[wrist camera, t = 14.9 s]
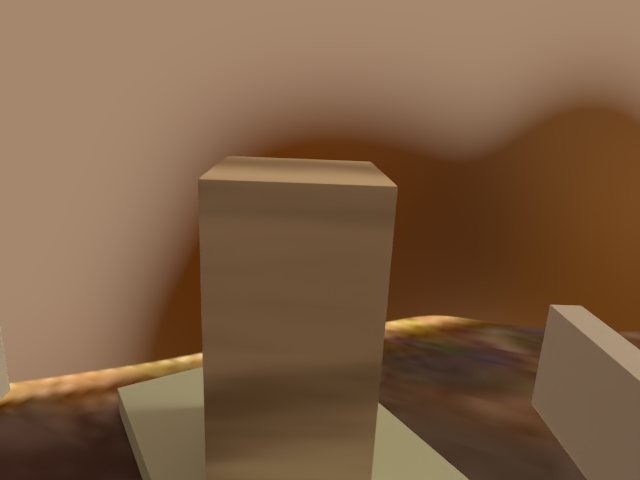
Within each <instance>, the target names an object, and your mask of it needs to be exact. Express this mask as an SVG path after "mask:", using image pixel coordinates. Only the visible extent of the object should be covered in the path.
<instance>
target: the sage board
mask: <svg viewBox="0 0 640 480" xmlns="http://www.w3.org/2000/svg"><path fill="white" fill-rule="evenodd" d="M118 400H119V412H120V416H121V419H122V422H123V425H124V428H125V431H126V434H127V436H128V439H129V442H130V445H131V448H132V451H133V454H134V457H135V460H136V463H137V465H138V468H139V471H140V474H141V477H142V480H206V464H205V425H204V387H203V367H200V368H196V369H192V370H188V371H184V372H180V373H176V374H172V375H168V376H164V377H160V378H156V379H152V380H148V381H144V382H140V383H136V384H133V385H129V386H125V387H121V388H118ZM371 480H469V479H467V478H466V477H465V476H464V475H463V474H462V473H460V472H459V471H458V470H457V469H456V468H455V467H453V466H452V465H451V464H450V463H449V462H447V461H446V460H445V459H444V458H443V457H442V456H440V455H439V454H438V453H437V452H436V451H435V450H433V449H432V448H431V447H430V446H429V445H428V444H426V443H425V442H424V441H423V440H422V439H421V438H419V437H418V436H417V435H416V434H415V433H413V432H412V431H411V430H410V429H409V428H408V427H406V426H405V425H404V424H403V423H402V422H401V421H399V420H398V419H397V418H396V417H395V416H394V415H392V414H391V413H390V412H389V411H388V410H387V409H385V408H384V407H383V406H382V405H381V404H379V403H378V411H377V422H376V433H375V445H374V456H373V467H372V478H371Z"/></svg>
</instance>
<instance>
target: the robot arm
mask: <svg viewBox="0 0 640 480" xmlns="http://www.w3.org/2000/svg"><path fill="white" fill-rule="evenodd" d="M9 391H10V385H9V379H8V372H7V366H6V359H5V352H4V346H3V339H2V333H1V326H0V400H1V399H2V398H3V397H4V396H5V395H6V394H7V393H8V392H9ZM531 404H532V405H533V407H534V408H535V410H536V411H537V412H538V414H539V415H540V416H541V418H542V419H543V420H544V422H545V423H546V425H547V426H548V427H549V429H550V430H551V431H552V433H553V434H554V435H555V437H556V438H557V440H558V441H559V442H560V444H561V445H562V446H563V448H564V449H565V450H566V452H567V453H568V455H569V456H570V457H571V459H572V460H573V461H574V463H575V464H576V466H577V467H578V468H579V470H580V471H581V472H582V474H583V475H584V476H585V478H586V479H587V480H640V350H639V349H638V348H636V347H635V346H634V345H632V344H631V343H630V342H628V341H627V340H626V339H624V338H623V337H622V336H620V335H619V334H618V333H616V332H615V331H614V330H613V329H611V328H610V327H609V326H607V325H606V324H605V323H603V322H602V321H601V320H599V319H598V318H597V317H595V316H594V315H593V314H591V313H590V312H589V311H587V310H586V309H585V308H583V307H582V306H571V305H550V309H549V314H548V319H547V324H546V329H545V334H544V340H543V345H542V350H541V355H540V360H539V366H538V371H537V376H536V381H535V386H534V392H533V397H532V402H531Z"/></svg>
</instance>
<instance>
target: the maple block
mask: <svg viewBox="0 0 640 480" xmlns="http://www.w3.org/2000/svg"><path fill="white" fill-rule="evenodd" d="M397 188H398V187H397V186H396V185H395V184H394V183H393V182H392V181H391V180H390V179H389V178H388V177H387V176H386V175H384V174H383V173H382V172H381V171H380V170H379V169H378V168H377V167H376V166H375V165H374V164H372V163H371V162H361V161H335V160H310V159H285V158H262V157H237V156H227V157H226V158H225V159H223V160H222V161H221V162H220V163H218V164H217V165H216V166H214V167H213V168H212V169H210V170H209V171H208V172H207V173H205V174H204V175H203V176H202V177H200V178H199V179H198V193H199V231H200V268H201V269H200V270H201V306H202V307H201V309H202V347H203V387H204V425H205V464H206V480H371V478H372V467H373V456H374V445H375V433H376V422H377V411H378V400H379V389H380V378H381V367H382V355H383V344H384V333H385V322H386V311H387V300H388V287H389V277H390V265H391V255H392V244H393V233H394V221H395V210H396V199H397Z"/></svg>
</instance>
